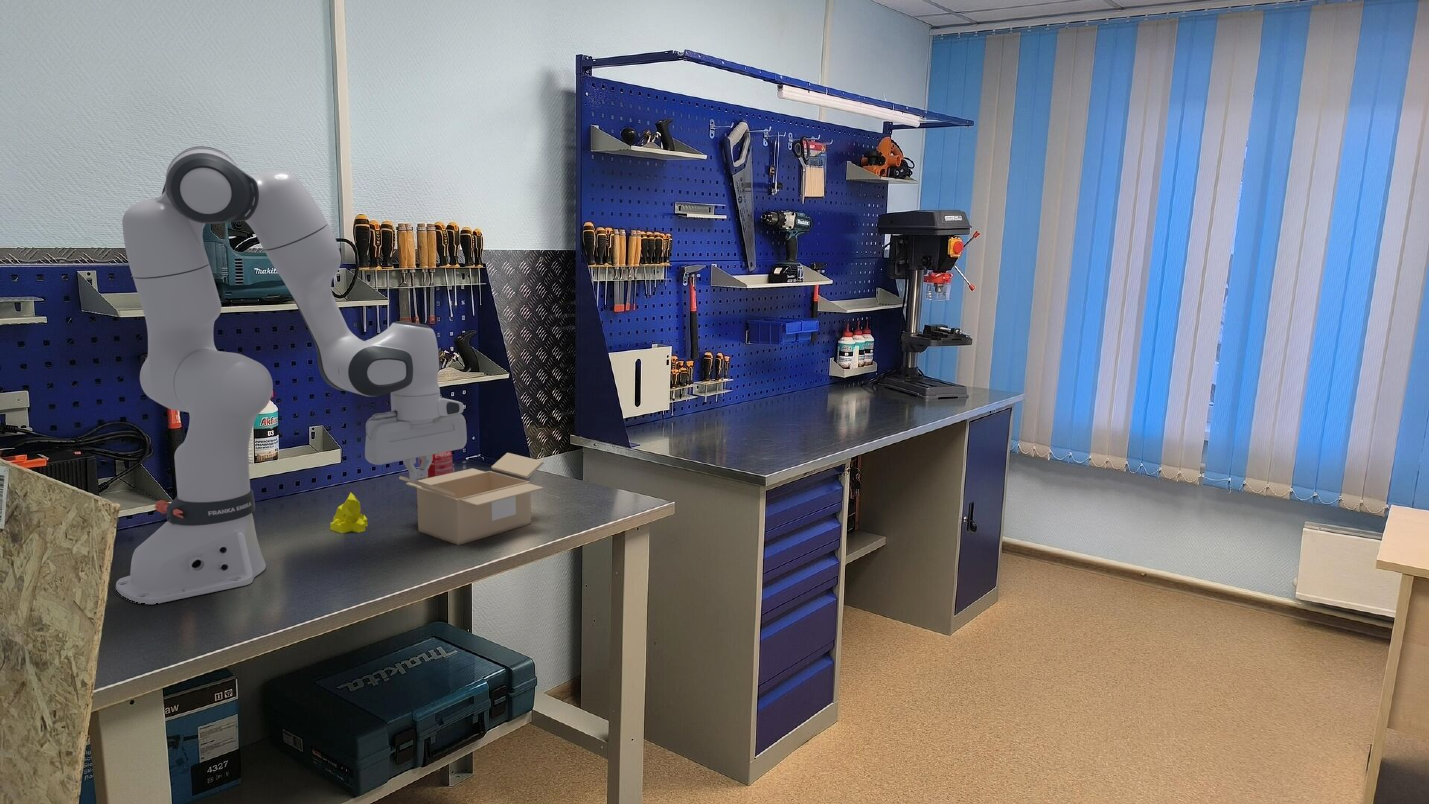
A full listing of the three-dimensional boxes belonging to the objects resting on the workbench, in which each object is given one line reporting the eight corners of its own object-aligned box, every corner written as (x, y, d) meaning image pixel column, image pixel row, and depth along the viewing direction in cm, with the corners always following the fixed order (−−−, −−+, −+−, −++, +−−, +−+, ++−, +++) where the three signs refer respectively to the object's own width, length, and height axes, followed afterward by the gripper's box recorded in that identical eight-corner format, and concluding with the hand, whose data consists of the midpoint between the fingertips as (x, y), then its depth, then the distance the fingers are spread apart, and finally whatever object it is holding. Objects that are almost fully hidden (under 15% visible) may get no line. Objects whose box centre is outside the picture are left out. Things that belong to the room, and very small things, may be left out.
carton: (474, 550, 177) (473, 504, 175) (404, 526, 190) (402, 483, 189) (547, 528, 191) (546, 485, 189) (476, 507, 204) (475, 467, 203)
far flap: (542, 461, 195) (543, 463, 195) (507, 452, 202) (508, 454, 202) (526, 476, 192) (527, 478, 192) (491, 466, 199) (492, 469, 199)
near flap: (400, 475, 182) (398, 478, 182) (435, 486, 175) (434, 489, 175) (420, 482, 185) (419, 485, 185) (455, 493, 179) (454, 496, 178)
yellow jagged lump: (349, 521, 193) (347, 485, 192) (374, 528, 189) (372, 491, 188) (324, 528, 188) (321, 491, 187) (349, 536, 184) (347, 498, 183)
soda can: (458, 499, 210) (457, 443, 207) (446, 509, 203) (444, 450, 200) (428, 498, 210) (426, 441, 208) (414, 507, 203) (412, 449, 201)
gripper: (375, 417, 166) (379, 493, 168) (470, 402, 182) (472, 472, 184) (356, 413, 170) (359, 486, 172) (450, 398, 186) (452, 466, 188)
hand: (418, 479), depth 178 cm, fingers closed
